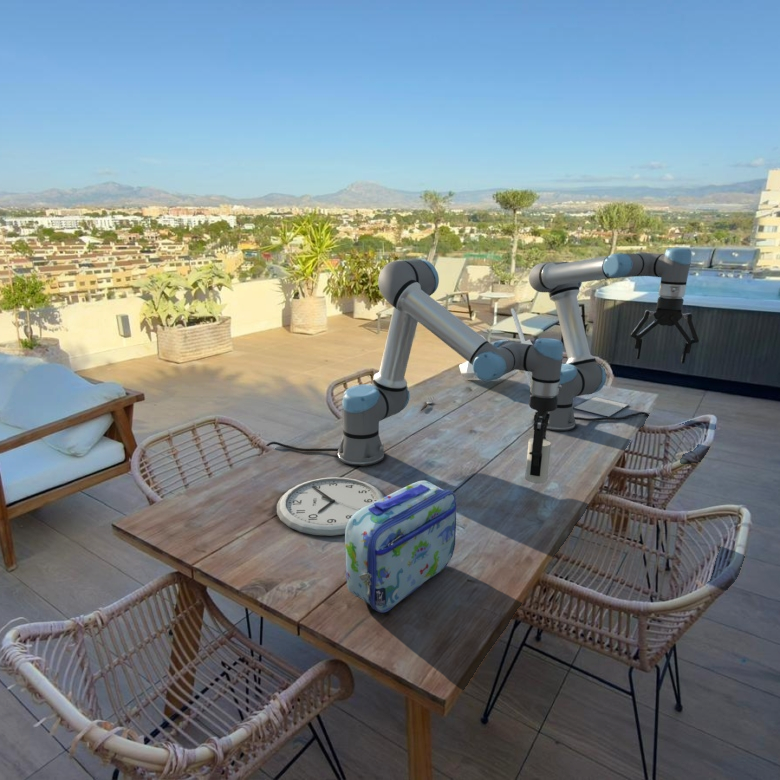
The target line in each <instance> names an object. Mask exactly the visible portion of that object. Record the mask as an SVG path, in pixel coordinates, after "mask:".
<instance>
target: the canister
mask: <svg viewBox="0 0 780 780" xmlns="http://www.w3.org/2000/svg"><path fill="white" fill-rule="evenodd" d="M532 446H533V437H532V438H529V439H528V443H527V454H526V464H525V465H526V466H525V475H524V476H525V477H524V479H525V480H526V481H527V482H529V483H533V484H546V482H547V481H548V475H549V466H550V458H551V457H550V456H551V446H552V442H551V441H550V440H549V439H547V438H546V439H543V446H542V461H541V470H540V476H534V475H530V469H531V459H532V455H531V454H529V453H530V452H532Z"/></svg>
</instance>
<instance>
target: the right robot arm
mask: <svg viewBox="0 0 780 780" xmlns="http://www.w3.org/2000/svg"><path fill="white" fill-rule="evenodd" d="M692 253H693V252H692V250H691V249H690V248H683V247H681V248H680V247H668V248H666V250H665V253H656V252H655V253H653V252H643V251H642V252H635V253H623V252H618V253H612V254H610V255H606V256H600V257H593V258H589V259H581V260H577V261H576V260H575V261H571V262H569V261H557V262H556V261H555V262H553V261H551V262H540V263H537V264H535V265H534V266H533V267H532V268H531V269H530V271H529V274H528V282H529V285H530V286H531V288H532V289H533V290H534V291H536V292H539V293H548V296H549V300H551V301H552V302H554V305H555V309H556V313H557V319H558V322H559V327H560V331H561V335H562V339H563V345H564V349H565V353H566V357H567V361H566V362H565V363H562V366H561V374H560V383H559V385H561V386H562V387H561V388H559V392H558V395H557V397H558V403H557V409H556V410H554V411H550V412H548V414H550V417H549V421H548V426H547V429H546V430H549V431H556V432H567V431H572V430H574V429H575V428H576V420H577V421H578V420H579V421H584V422H591V421H592V422H595V421H615V420H616V421H621V420H626V419H629V418H631V417H636V416H640V415H644V416H645V417H650V414H649V413H648V412H645V411H639V412H635V413H630V414H627V415H625V416H618V417H617V416H615V417H614V416H609V417H608V416H604V417H593V418H592V417H591V418H590V417H588V418H587V417H580V416H575V413H574V407H573V405H574V398H576V397H581V396H586V395H593V394H595V393H598V392H600V391H601V390H602V389H603V387H604V386H605V384H606V382H607V374H606V370H605V368H604V367H603V366H602V365H601V364H598V363H597V359H596V357H595V356H593V355H592V354H591V352H590V348H589V344H588V343H589V342H588V339H587V335H586V330H585V326H584V321H583V318H582V313H581V309H580V304H579V300H578V295H579V293H580V288H581V286H582V283H586V282H593V281H601V280H610V279H619V278H620V279H621V278H632V277H633V278H634V277H635V278H636V277H653V278H660V284H659V290H658V296H659V297H658V298H657V300H656V301H657V302H656V307H655V310H654V311H651V310H649V309H646V310H645V311H644V314H643V317H642V318H641V320H640V321H639V322H638V324H637V325H636V326H635V327H634V329H633V330H632V331H631V333H630V337H631V338H633V339H635V342H634V349H636V350H637V352H636V360H640V359H641V351H642V344H643V337H644V336H646V335H647V334H648V333H649V332H650V331H651V330H653V329H654V328H655V327H657V326H658V325H660V326H663V327H664V326H668V327H674V326H675V327H676V329H677V330H678V331H679V333H680V334H681V336H682V337H683V338H684V339H685V341H686V342H683V348H682V352H681V358H680V363H681V364H685V361H686V357H687V354H690V353H691V349H692V345H693V344H697V343H699V342H700V340H699V337H698V335H697V331H696V329H695V326H694V323H693V314H692V313H691V312H687V313H683V312H682V311H683V307H684V297H685V295H686V288H687V284H688V283H687V282H688V277H689V274H690V273H689V272H690V267H691V264H692ZM652 316H653V317H654V320H653V321H652V322H651V323H650V324H648V325H647V326H646V327H645V328H644V329H643V330H641V328H642V327H643V326H644V325H645V323H646V322H647V321H648V319H650V318H651V317H652ZM681 319H684V321H686V323H687V326H688V329H689V331H690V334H691V336H692V337H691V338H690V336H689V335H688V334H687V332H686V331H685V329H684V328H683V327H682V326H681V324H680V322H679V321H680V320H681ZM640 330H641V331H640ZM639 331H640V332H639ZM638 332H639V333H638Z"/></svg>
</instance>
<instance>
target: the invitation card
mask: <svg viewBox="0 0 780 780" xmlns="http://www.w3.org/2000/svg"><path fill="white" fill-rule="evenodd" d="M628 406H629V404H627V403H623V402H618V401H614V400H609V399H605V398H601V397H596V396H593V397H592V398H590V399H588V400H586V401H584V402H582V403H580V404H578V405H575V406H574V407H573V409H575V410H581V411H584V412H587V413H593V414H596V415H600V416H604V417H612V416H613V415H614V414H616V413H617V412H619V411H621V410H623V409H624V408H626V407H628Z"/></svg>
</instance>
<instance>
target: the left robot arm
mask: <svg viewBox="0 0 780 780" xmlns="http://www.w3.org/2000/svg"><path fill="white" fill-rule="evenodd" d="M377 280H378V281H377V285H378V289H379V292H380V294H381V295H382V297H383V298H384V299H385V300H386V302H388V304H390V305H391V306H392V307H393V308H392V313H391V317H390V321H389V326H388V331H387V336H386V340H385V345H384V349H383V354H382V357H381V361H380V367H379V371H377V372H375V373H374V375H373V379H372V382H371V384H367V383H366V384H365V383H364V384H363V383H362V384H356V385H353V386H350V387H349V388H347V389H346V390H345V391H344V392H343V395H342V396H343V397H342V402H341V406H342V438H341V440H340V443H339V445H338V448H337V447H336V448H332V447H331V448H329V447H328V448H326V447H325V448H324V447H323V448H320V447H319V448H316V447H315V448H304V447H303V448H301V447H297V446H293V445H288V444H284V443H281V442H279V441H270V442H268V443H266V445H265V447H269V446H271V445H276V446H279V447H283V448H287V449H291V450H293V451H300V452H337V459H338V460H339V461H340V462H341V463H343V464H345V465H349V466H354V467H369V466H373V465H377V464H379V463H380V462H382V461H383V460H384V458H385V450H384V447H385V444H384V443H382V440H381V438H380V431H379V430H380V422H381V421H383V420H385V419H388V418H390V417H392V416H395V415H397V414H399V413H401V412H402V411H403V410H404V409H405V408H407V406H408V404H409V403H410V397H411V395H410V390H408V389H409V388H408V381H407V379H406V378H405V375H406V372H407V368H408V363H409V360H410V355H411V350H412V347H413V344H414V339H415V334H416V331H417V327H418V323H419V324H420V325H422V326H423V327H424V328H425V329H427V331H429V332H430V333H432V334H433V335H434V336H436V337H437V338H438V339H439V340H441V341H442V342H443V343H444V344H445V345H447V346H448V347H449V348H450V349H452V350H453V351H454V352H456V353H457V354H458V355H460V356H461V357H462V358H463V359H464V360H466V362H467V361H468V362H469V363H471V364H472V365H473V371H474V373H475V375H476V376H477V377H478V378H477V379H479V380H481V381H483V382H492V381H495V380H498V379H500V378H501V377H503V376H505V375H506V374H509V373H511V372H513V371H515V370H516V371H522V372H524V371H528V372H529V373H530V372H531V388H530V387H529V389H530V390H529V391H530V394H529V402H528V406H529V408H531V410H534V411H535V413H534V415H533V421H534V422H533V423H534V424H533V437H532V438H533V446H532V452H530V453H529V454H531V455H532V459H531V469H530V475H534V476H540V470H541V461H542V446H543V439H546V440H547V430H548V429H547V426H548V421H549V417H550V414H548V412H550V411H554V410H556V409H557V403H558V397H557V395H558V392H559V388H561V387H562V386H561V385H559V383H560V374H561V366H562V364H563V359H564V355H563V353H564V342H562V341H561V340H560V339H556V338H550V337H548V338H547V337H540V338H536V340H535V341H534V343H533V345H530V344H523V343H521V342H516V341H511V340H508V341H499V340H495V341H496V342H495V341H494V342H495V343H494V345H492V344H491V343H490V341H488V340H487V338H485V337H484V336H483V337H484V338H485V339H484V338H483V337H482V336H480V335H481V334H479V333H478V332H477V331H475V330H474V329H473V328H472V327H470V326H469V325H468V324H466V323H465V322H463V320H461V318H458V317H457V316H456V315H455V314H453V313H452V312H451V311H450V310H448V309H447V308H445V307H444V306H443V305H442V304H440V303H439V302H438V301H437V300H435V299H434V298H433V297H431V296H432V295H433V294H435V292H436V291H437V289H438V287H439V282H440V277H439V273H438V271H437V269H436V267H435V266H434V264H432V263H431V262H430V261H429V260H426V259H419V258H413V259H403V260H402V259H401V260H400V259H399V260H392V261H390V262H388V263H387V264H385V265H384V266H383V268H381V270H380V272H379V275H378V279H377Z"/></svg>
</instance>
